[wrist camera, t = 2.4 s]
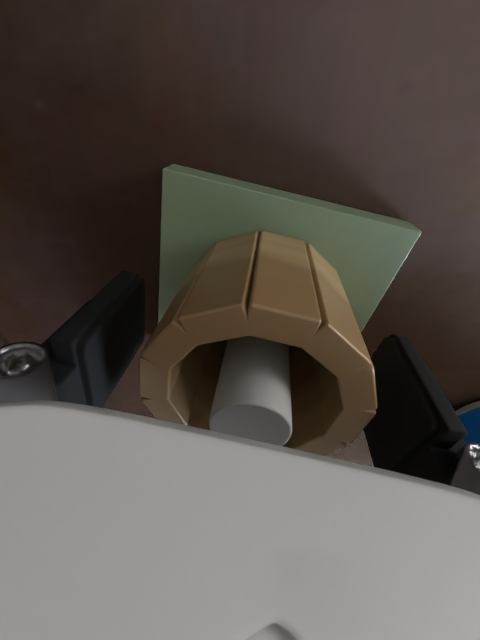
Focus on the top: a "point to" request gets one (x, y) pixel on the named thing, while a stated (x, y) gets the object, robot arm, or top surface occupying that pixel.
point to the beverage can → (471, 421)
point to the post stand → (259, 215)
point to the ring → (266, 323)
